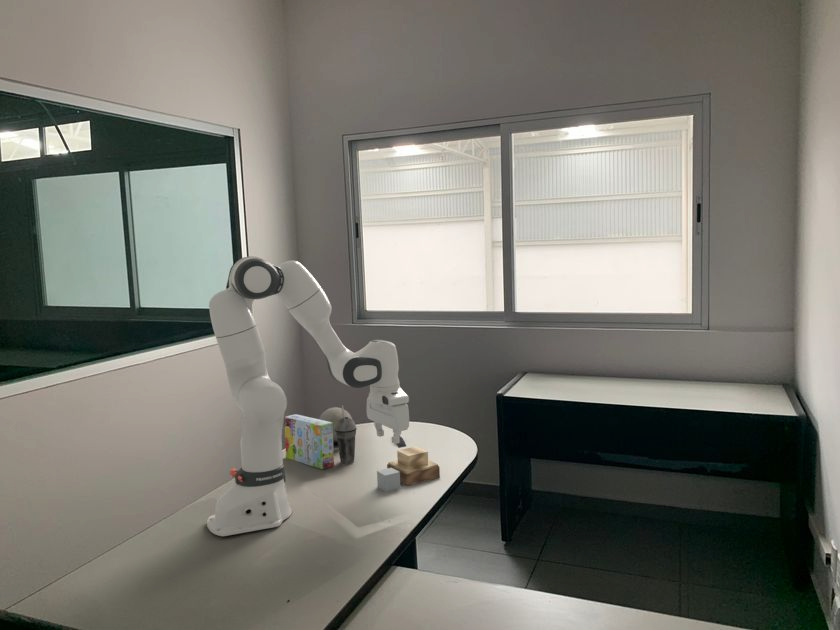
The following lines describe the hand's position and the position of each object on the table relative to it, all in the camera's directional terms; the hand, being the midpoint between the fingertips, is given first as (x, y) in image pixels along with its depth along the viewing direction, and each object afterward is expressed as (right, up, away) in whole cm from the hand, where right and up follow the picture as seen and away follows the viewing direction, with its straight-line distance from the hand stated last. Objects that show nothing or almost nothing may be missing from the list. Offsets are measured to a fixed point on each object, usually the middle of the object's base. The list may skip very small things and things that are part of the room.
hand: (388, 439), depth 186 cm
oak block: (+7, -10, +10) cm, 16 cm away
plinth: (+7, -14, +10) cm, 19 cm away
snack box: (-28, -14, +28) cm, 42 cm away
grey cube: (0, -15, +1) cm, 15 cm away
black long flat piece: (+2, -12, +44) cm, 46 cm away
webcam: (-21, -12, +43) cm, 50 cm away
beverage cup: (-15, -13, +26) cm, 33 cm away
